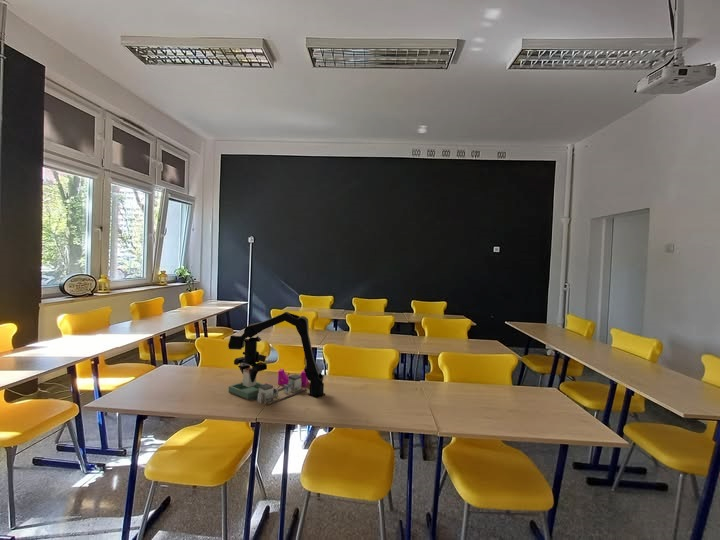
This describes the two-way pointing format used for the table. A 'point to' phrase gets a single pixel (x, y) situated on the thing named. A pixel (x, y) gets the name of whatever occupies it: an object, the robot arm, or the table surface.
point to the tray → (245, 390)
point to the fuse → (247, 378)
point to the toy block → (285, 379)
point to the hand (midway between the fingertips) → (249, 381)
